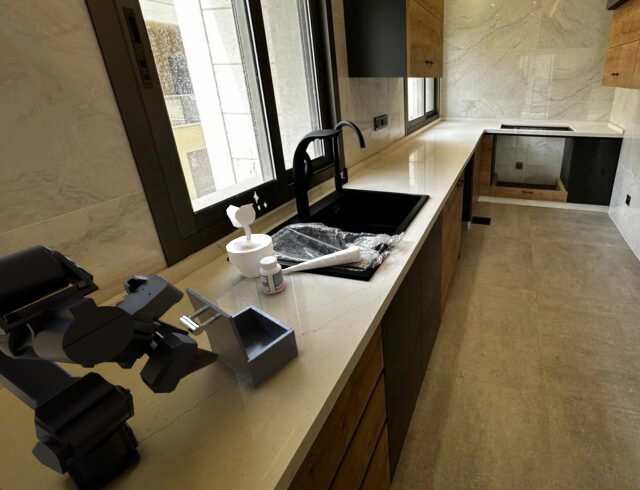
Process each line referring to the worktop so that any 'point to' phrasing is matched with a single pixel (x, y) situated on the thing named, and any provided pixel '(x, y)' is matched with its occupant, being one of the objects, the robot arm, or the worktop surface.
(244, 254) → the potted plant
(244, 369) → the box
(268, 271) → the pill bottle
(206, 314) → the freezer lid
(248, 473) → the worktop surface
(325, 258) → the unicorn horn
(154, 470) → the worktop surface
